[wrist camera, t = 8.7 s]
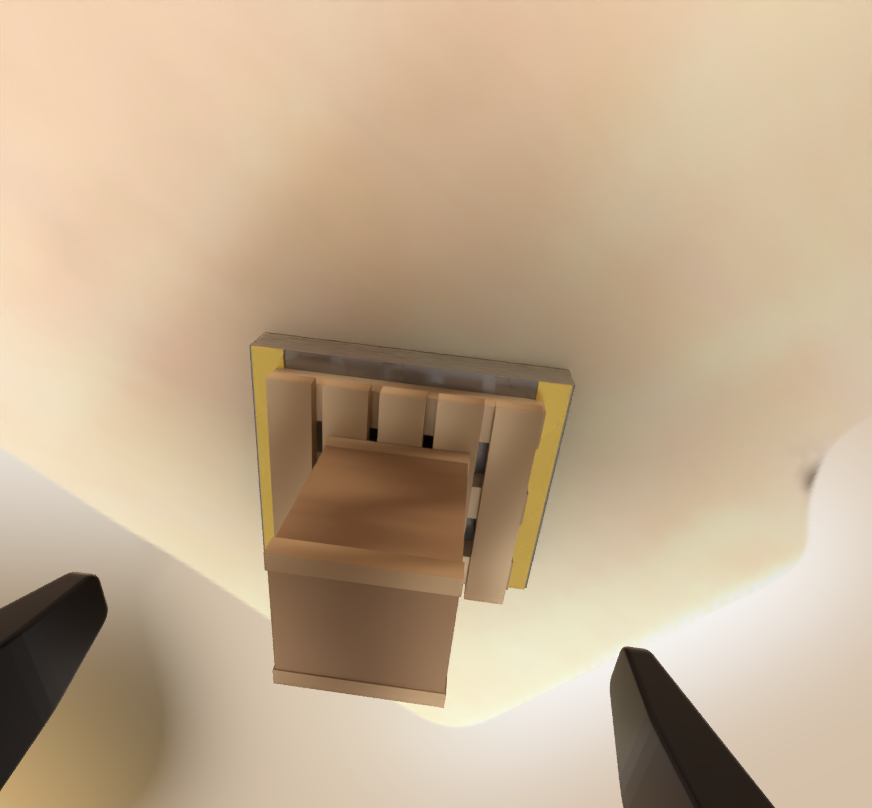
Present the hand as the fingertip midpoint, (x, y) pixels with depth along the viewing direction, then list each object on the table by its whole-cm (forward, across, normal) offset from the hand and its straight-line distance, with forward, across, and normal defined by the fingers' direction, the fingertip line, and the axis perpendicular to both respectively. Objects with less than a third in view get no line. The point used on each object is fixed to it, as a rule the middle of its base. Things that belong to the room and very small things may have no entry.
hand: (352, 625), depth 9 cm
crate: (+10, +1, +5) cm, 11 cm away
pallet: (+11, +1, +5) cm, 12 cm away
